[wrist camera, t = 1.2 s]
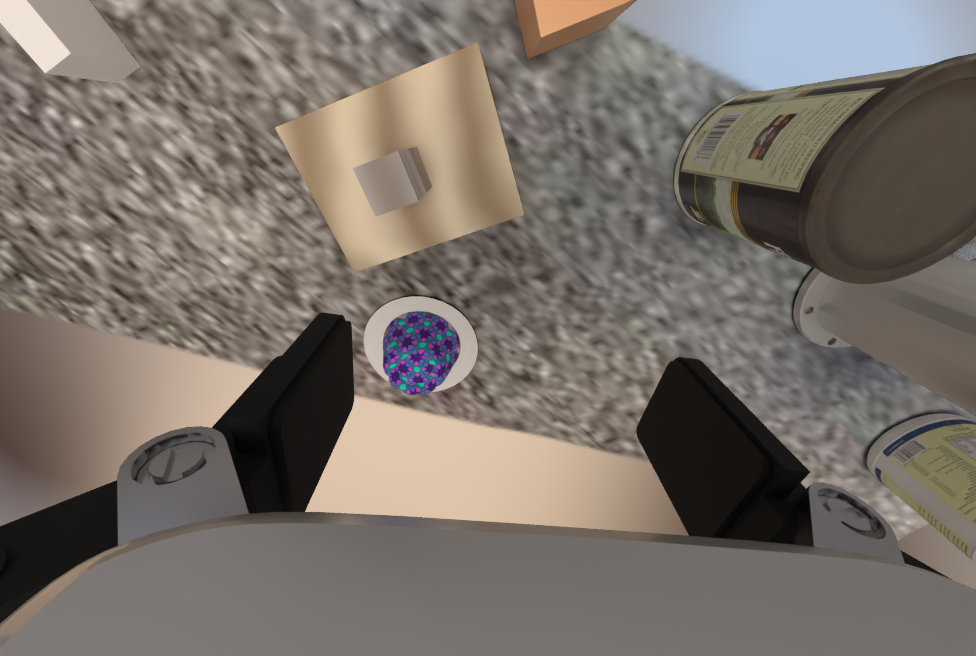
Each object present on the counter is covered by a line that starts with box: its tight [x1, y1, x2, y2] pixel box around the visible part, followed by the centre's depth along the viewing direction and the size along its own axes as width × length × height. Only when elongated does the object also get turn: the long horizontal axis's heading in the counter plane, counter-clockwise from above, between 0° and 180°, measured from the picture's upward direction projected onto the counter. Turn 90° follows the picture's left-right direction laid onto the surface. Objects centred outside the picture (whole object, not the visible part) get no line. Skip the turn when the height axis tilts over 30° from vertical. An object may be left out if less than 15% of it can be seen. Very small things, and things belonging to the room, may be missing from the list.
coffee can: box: [674, 53, 976, 284], centre depth 23 cm, size 10×10×14 cm
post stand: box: [275, 43, 524, 273], centre depth 25 cm, size 16×12×8 cm
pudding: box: [364, 296, 478, 395], centre depth 35 cm, size 12×12×5 cm
